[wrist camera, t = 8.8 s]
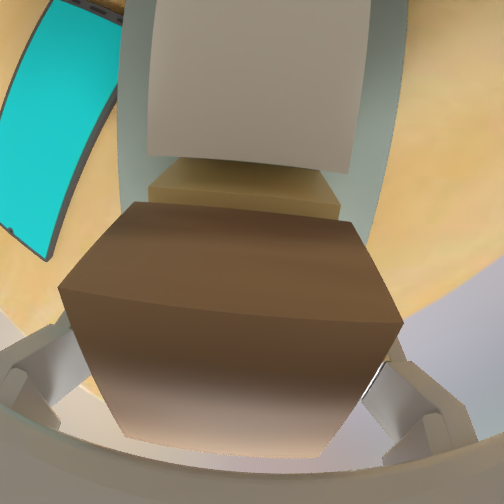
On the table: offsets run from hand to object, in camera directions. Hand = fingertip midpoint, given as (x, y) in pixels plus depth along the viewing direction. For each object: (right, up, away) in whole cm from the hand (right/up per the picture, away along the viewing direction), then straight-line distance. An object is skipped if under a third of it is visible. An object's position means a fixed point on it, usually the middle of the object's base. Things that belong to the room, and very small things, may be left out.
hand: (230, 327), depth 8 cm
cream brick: (+1, +9, +2) cm, 10 cm away
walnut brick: (0, +1, +1) cm, 1 cm away
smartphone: (-11, +9, +5) cm, 15 cm away
